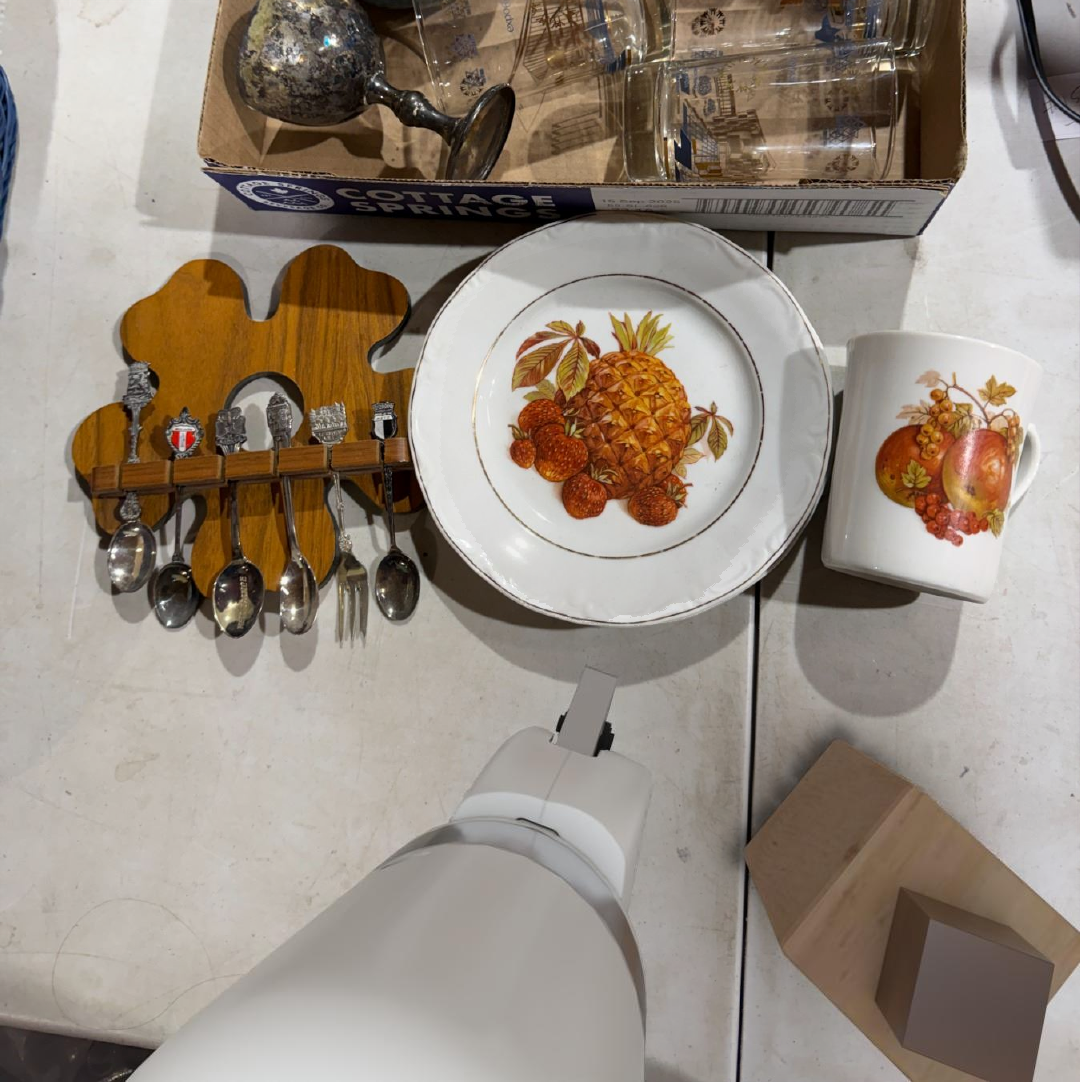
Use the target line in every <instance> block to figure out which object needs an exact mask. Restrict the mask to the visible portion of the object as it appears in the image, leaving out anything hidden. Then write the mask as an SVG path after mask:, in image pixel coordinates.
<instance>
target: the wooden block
mask: <svg viewBox="0 0 1080 1082" xmlns="http://www.w3.org/2000/svg"><path fill="white" fill-rule="evenodd" d="M742 855H743V859H744V860H745V864H746V865H747V868H748V870H749V873H750V876H751V878H752V880H753V883H754V885H755V888H756V891H757V893H758V895H759V898H760V900H761V902H762V905H763V909H764V910H765V913H766V916H767V918H768V920H769V923H770V925H771V928H772V931H773V933H774V935H775V937H776V940H777V942H778V946H779V948H780V951H781V952H782V954H783V956H784V957H785V958H786V959H787V960H788V961H789V962H790V963H791V964H792V965H793V966H794V967H795V968H796V969H797V970H798V971H799V972H800V973H801V974H802V975H803V976H804V977H805V978H806V979H807V980H808V981H809V982H810V983H811V984H812V985H813V986H814V987H816V989H817V990H818V991H819V992H820V993H821V994H822V995H823V996H824V997H825V998H826V999H827V1000H828V1001H829V1002H830V1003H831V1004H832V1005H833V1006H834V1007H835V1008H836V1009H837V1010H839V1012H840V1013H841V1014H842V1015H843V1016H844V1017H845V1018H846V1019H847V1020H848V1021H849V1022H851V1024H852V1025H853V1026H854V1027H856V1029H857V1030H858V1031H859V1032H860V1033H861V1034H862V1035H864V1037H865V1038H867V1039H868V1041H870V1043H871V1044H872V1045H874V1047H875V1048H876V1049H877V1050H878V1051H879V1052H880V1053H881V1054H883V1056H884V1057H885V1058H886V1059H887V1060H888V1061H889V1062H890V1063H891V1064H892V1065H893V1066H895V1067H896V1069H897V1070H898V1071H899V1072H900V1073H901V1074H902V1075H904V1076H905V1077H906V1079H907V1080H908V1081H910V1082H987V1081H985V1080H982V1079H980V1078H977V1077H975V1076H972V1075H970V1074H967V1073H965V1072H962V1071H960V1070H957V1069H955V1068H952V1067H950V1066H947V1065H945V1064H942V1063H940V1062H937V1061H935V1060H932V1059H930V1058H927V1057H925V1056H922V1055H920V1054H917V1053H915V1052H912V1051H910V1050H907V1049H905V1048H902V1047H901V1045H900V1043H899V1042H898V1040H897V1038H896V1037H895V1035H894V1033H893V1032H892V1030H891V1028H890V1026H889V1025H888V1023H887V1021H886V1020H885V1018H884V1016H883V1015H882V1013H881V1011H880V1010H879V1008H878V1006H877V1005H876V1003H875V996H876V992H877V987H878V983H879V978H880V974H881V969H882V965H883V961H884V956H885V952H886V947H887V943H888V938H889V934H890V930H891V925H892V921H893V916H894V912H895V907H896V903H897V898H898V894H899V890H900V887H903V888H906V889H909V890H911V891H914V892H917V893H920V894H922V895H925V896H928V897H930V898H933V899H936V900H939V901H941V902H944V903H947V904H949V905H952V906H955V907H957V908H960V909H963V910H966V911H968V912H971V913H974V914H976V915H979V916H982V917H985V918H987V919H990V920H993V921H995V922H998V923H1001V924H1004V925H1006V926H1009V927H1011V928H1012V929H1013V930H1015V931H1016V932H1017V933H1018V934H1019V935H1021V936H1022V937H1023V938H1024V939H1025V940H1026V941H1028V942H1029V943H1030V944H1031V945H1032V946H1033V947H1035V948H1036V949H1037V950H1038V951H1039V952H1041V953H1042V954H1043V955H1044V956H1045V957H1046V958H1048V959H1049V960H1050V961H1051V962H1052V963H1054V965H1055V966H1054V972H1053V977H1052V982H1051V987H1050V993H1049V998H1048V1003H1047V1006H1048V1005H1049V1004H1050V1002H1051V1001H1052V1000H1053V999H1054V997H1055V996H1056V995H1057V993H1058V992H1059V991H1060V989H1061V988H1062V987H1063V986H1064V984H1065V983H1066V981H1067V980H1068V979H1069V977H1071V975H1072V974H1073V972H1075V970H1076V968H1077V967H1078V966H1079V964H1080V930H1078V929H1077V928H1076V927H1075V926H1074V925H1073V924H1072V923H1071V922H1069V920H1068V919H1066V918H1065V917H1064V916H1063V915H1061V913H1060V912H1058V911H1057V910H1056V909H1055V908H1054V907H1053V906H1052V905H1051V904H1049V903H1048V902H1047V901H1046V899H1044V898H1043V897H1042V896H1041V895H1039V894H1038V892H1036V891H1035V889H1033V888H1032V887H1031V886H1030V885H1029V884H1027V883H1026V882H1025V881H1024V880H1023V879H1022V878H1021V877H1019V876H1018V875H1017V874H1016V873H1015V872H1014V871H1013V870H1012V869H1011V868H1010V867H1008V866H1007V865H1006V864H1005V863H1004V862H1003V861H1002V860H1001V859H1000V858H998V856H996V854H994V853H993V852H992V851H991V850H990V849H988V847H986V845H984V844H983V843H982V842H981V841H980V840H979V839H978V838H977V837H975V835H973V834H972V833H971V832H970V831H969V830H968V829H967V828H965V826H963V825H962V824H961V823H960V822H959V821H958V820H956V818H954V817H953V816H952V815H951V814H950V813H949V812H948V811H947V810H946V809H944V808H943V806H941V805H940V804H939V803H937V801H936V800H934V798H932V797H931V796H930V795H929V794H928V793H927V792H926V791H924V790H923V789H922V788H921V787H920V786H918V785H917V784H915V783H914V782H912V781H910V780H909V779H907V778H906V777H904V776H902V775H901V774H899V773H897V772H895V771H894V770H892V769H890V768H889V767H887V766H885V765H884V764H882V763H881V762H879V761H877V760H875V758H872V757H871V756H869V755H867V754H866V753H864V752H863V751H861V750H859V749H858V748H856V747H855V746H852V745H851V744H850V743H848V742H846V741H845V740H843V739H840V738H837V739H835V740H833V741H832V742H830V744H829V745H828V747H827V748H826V749H825V750H824V751H823V752H822V754H820V756H819V757H818V758H817V760H816V761H815V762H814V763H813V765H812V766H811V767H810V768H809V769H808V770H807V772H806V773H805V774H804V776H803V777H802V778H800V780H799V782H797V784H796V785H795V786H794V788H792V790H791V791H790V793H789V794H788V795H787V796H786V797H785V798H784V800H783V801H782V802H781V803H780V804H779V805H778V807H777V808H776V809H775V810H774V812H773V813H772V814H771V815H770V816H769V818H768V819H767V820H766V821H765V822H764V823H763V825H762V826H761V828H759V829H758V831H757V832H756V833H755V835H753V837H752V838H751V840H750V841H749V842H748V843H747V845H745V846H744V848H743V852H742Z"/></svg>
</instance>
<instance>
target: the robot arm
mask: <svg viewBox="0 0 1080 1082" xmlns="http://www.w3.org/2000/svg"><path fill="white" fill-rule="evenodd" d="M619 677H620V676H619V675H618V674H615V673H613V672H609V671H607V670H604V669H601V668H599V667H595V666H593V665H589V664H585V665H584V668H583V670H582V672H581V676H580V679H579V681H578V684H577V686H576V689H575V691H574V694H573V697H572V699H571V702H570V705H569V706H568V709H567V710H566V711H565V713H564V714H560V716H559V718H558V719H557V723H556V727H555V732H556V733H557V734H558V735H557V738H556V740H555V743H553V740H554V737H555V733H554V732H552V731H551V730H549V729H547V728H546V727H545V728H544V727H541V726H537V725H533V726H529V727H525V728H523V729H520V730H518V731H517V732H515V733H514V734H512V735H511V736H509V737H508V738H507V739H506V740H505V741H504V742H503V743H502V744H501V745H500V746H499V748H498V749H497V750H496V751H495V752H494V754H493V755H492V756H491V757H490V759H488V761H487V762H486V764H485V765H484V766H483V768H482V769H481V771H480V772H479V774H478V775H477V777H475V780H474V781H473V783H472V785H471V786H470V787H469V788H468V789H467V790H466V791H465V793H464V794H463V797H462V799H461V801H460V803H459V804H458V806H457V808H456V809H455V811H454V813H453V814H452V816H451V817H450V818H449V820H448V822H446V823H444V824H441V825H438V826H435V827H431V828H430V829H428V830H427V831H425V832H423V833H421V834H420V835H418V836H416V837H414V838H413V839H411V840H409V841H408V842H406V843H405V844H404V845H403V846H402V847H401V848H399V849H398V850H396V851H395V852H393V853H392V854H391V855H390V856H388V857H387V858H386V859H385V860H384V861H383V862H381V863H380V864H378V866H376V867H375V868H373V870H371V871H370V872H369V873H368V874H367V875H365V876H364V877H363V879H361V880H360V881H358V882H357V883H356V884H355V885H354V886H353V887H351V888H350V889H349V890H347V891H346V892H345V893H344V894H342V895H341V896H340V897H339V898H338V899H336V900H335V901H334V902H332V903H331V904H330V905H329V906H327V907H326V908H325V909H323V910H322V911H321V912H320V913H319V914H317V915H316V916H315V917H314V918H312V919H311V920H310V921H309V922H307V923H306V924H305V925H304V926H303V927H301V928H300V929H299V930H298V931H296V932H295V933H294V934H292V936H290V937H289V938H288V939H286V940H285V941H284V942H282V943H281V944H280V945H279V946H278V947H277V948H275V949H274V950H273V951H272V952H270V953H269V954H268V955H266V957H264V958H263V959H262V960H260V962H258V963H257V964H256V965H254V966H253V967H252V968H251V969H250V970H248V971H247V972H246V973H245V974H243V975H242V976H241V977H239V978H238V979H237V980H236V981H235V982H233V983H232V984H231V985H230V986H229V987H227V988H226V989H225V990H224V991H222V992H221V993H220V994H218V995H217V996H216V997H215V998H213V1000H211V1001H210V1002H209V1003H208V1004H206V1005H205V1006H204V1007H203V1008H201V1009H200V1010H199V1011H197V1012H196V1013H195V1014H194V1015H193V1016H192V1017H190V1018H189V1019H188V1020H187V1021H185V1023H183V1024H182V1025H181V1026H180V1027H179V1028H178V1029H177V1030H175V1032H173V1033H172V1034H171V1035H170V1036H169V1037H168V1038H167V1039H166V1040H165V1041H164V1042H163V1043H162V1044H161V1045H160V1046H159V1047H158V1048H156V1049H155V1050H154V1052H152V1054H151V1055H149V1056H148V1057H147V1058H146V1059H145V1060H144V1061H143V1062H142V1063H141V1064H140V1065H139V1066H138V1067H137V1068H136V1069H135V1070H134V1072H132V1074H131V1075H130V1076H129V1077H128V1078H127V1079H126V1080H125V1082H645V1061H646V1040H647V1038H646V1037H647V1012H648V1011H647V1010H648V1009H647V1007H648V1005H647V1003H648V1002H647V1000H648V990H647V989H648V988H647V976H646V970H645V964H644V963H645V962H644V957H643V953H642V950H641V947H640V943H639V938H638V936H637V932H636V929H635V927H634V925H633V923H632V920H631V918H630V916H629V910H630V905H631V900H632V896H633V895H632V894H633V890H634V885H635V881H636V880H635V879H636V874H637V870H638V865H639V860H640V854H641V849H642V843H643V838H644V833H645V828H646V822H647V818H648V813H649V810H650V809H649V808H650V804H651V800H652V796H653V790H654V781H653V778H652V775H651V772H650V770H649V768H648V767H647V766H646V765H645V764H643V763H641V762H639V761H637V760H636V759H633V758H631V757H630V756H627V755H624V754H622V753H620V752H616V751H613V750H612V746H613V743H614V739H615V734H616V733H613V732H612V731H613V727H612V726H613V723H612V722H609V721H607V719H608V716H609V713H610V709H611V706H612V703H613V698H614V695H615V692H616V687H617V684H618V681H619Z"/></svg>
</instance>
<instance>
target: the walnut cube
mask: <svg viewBox="0 0 1080 1082" xmlns="http://www.w3.org/2000/svg"><path fill="white" fill-rule="evenodd" d="M1054 966H1055V965H1054V963H1052V962H1051V961H1050V960H1049V959H1048V958H1046V957H1045V956H1044V955H1043V954H1042V953H1041V952H1039V951H1038V950H1037V949H1036V948H1035V947H1033V946H1032V945H1031V944H1030V943H1029V942H1028V941H1026V940H1025V939H1024V938H1023V937H1022V936H1021V935H1019V934H1018V933H1017V932H1016V931H1015V930H1013V929H1012V928H1011V927H1009V926H1006V925H1004V924H1001V923H998V922H995V921H993V920H990V919H987V918H985V917H982V916H979V915H976V914H974V913H971V912H968V911H966V910H963V909H960V908H957V907H955V906H952V905H949V904H947V903H944V902H941V901H939V900H936V899H933V898H930V897H928V896H925V895H922V894H920V893H917V892H914V891H911V890H909V889H906V888H903V887H900V890H899V894H898V898H897V903H896V907H895V912H894V916H893V921H892V925H891V930H890V934H889V938H888V943H887V947H886V952H885V956H884V961H883V965H882V969H881V974H880V978H879V983H878V987H877V992H876V996H875V1003H876V1005H877V1006H878V1008H879V1010H880V1011H881V1013H882V1015H883V1016H884V1018H885V1020H886V1021H887V1023H888V1025H889V1026H890V1028H891V1030H892V1032H893V1033H894V1035H895V1037H896V1038H897V1040H898V1042H899V1043H900V1045H901V1047H902V1048H905V1049H907V1050H910V1051H912V1052H915V1053H917V1054H920V1055H922V1056H925V1057H927V1058H930V1059H932V1060H935V1061H937V1062H940V1063H942V1064H945V1065H947V1066H950V1067H952V1068H955V1069H957V1070H960V1071H962V1072H965V1073H967V1074H970V1075H972V1076H975V1077H977V1078H980V1079H982V1080H985V1081H987V1082H1033V1081H1034V1077H1035V1070H1036V1066H1037V1060H1038V1055H1039V1051H1040V1045H1041V1039H1042V1034H1043V1029H1044V1024H1045V1018H1046V1015H1047V1014H1046V1013H1047V1009H1048V1005H1047V1003H1048V998H1049V993H1050V987H1051V982H1052V977H1053V972H1054Z"/></svg>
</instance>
